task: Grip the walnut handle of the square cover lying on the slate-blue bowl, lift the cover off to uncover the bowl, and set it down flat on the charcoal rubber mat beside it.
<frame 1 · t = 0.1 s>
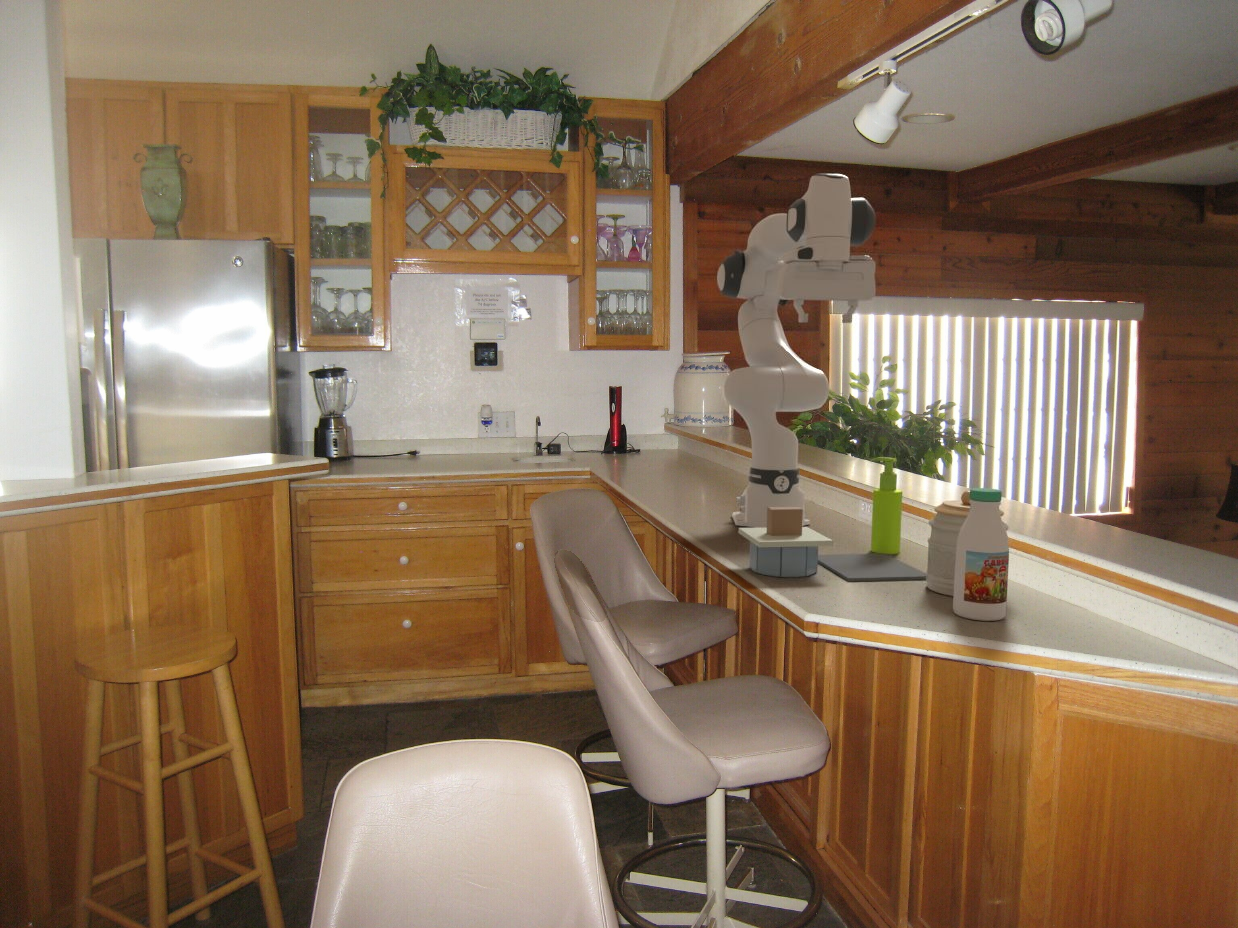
hand: (825, 322, 179), 48 cm above the worktop, fingers open, 8 cm apart
mat: (867, 567, 168), on the worktop
jar: (964, 591, 152), on the worktop
milk bottle: (978, 616, 136), on the worktop
bowl: (783, 569, 166), on the worktop
soap dispenser: (882, 551, 185), on the worktop
cover: (783, 539, 166), point 6 cm above the worktop, touching bowl
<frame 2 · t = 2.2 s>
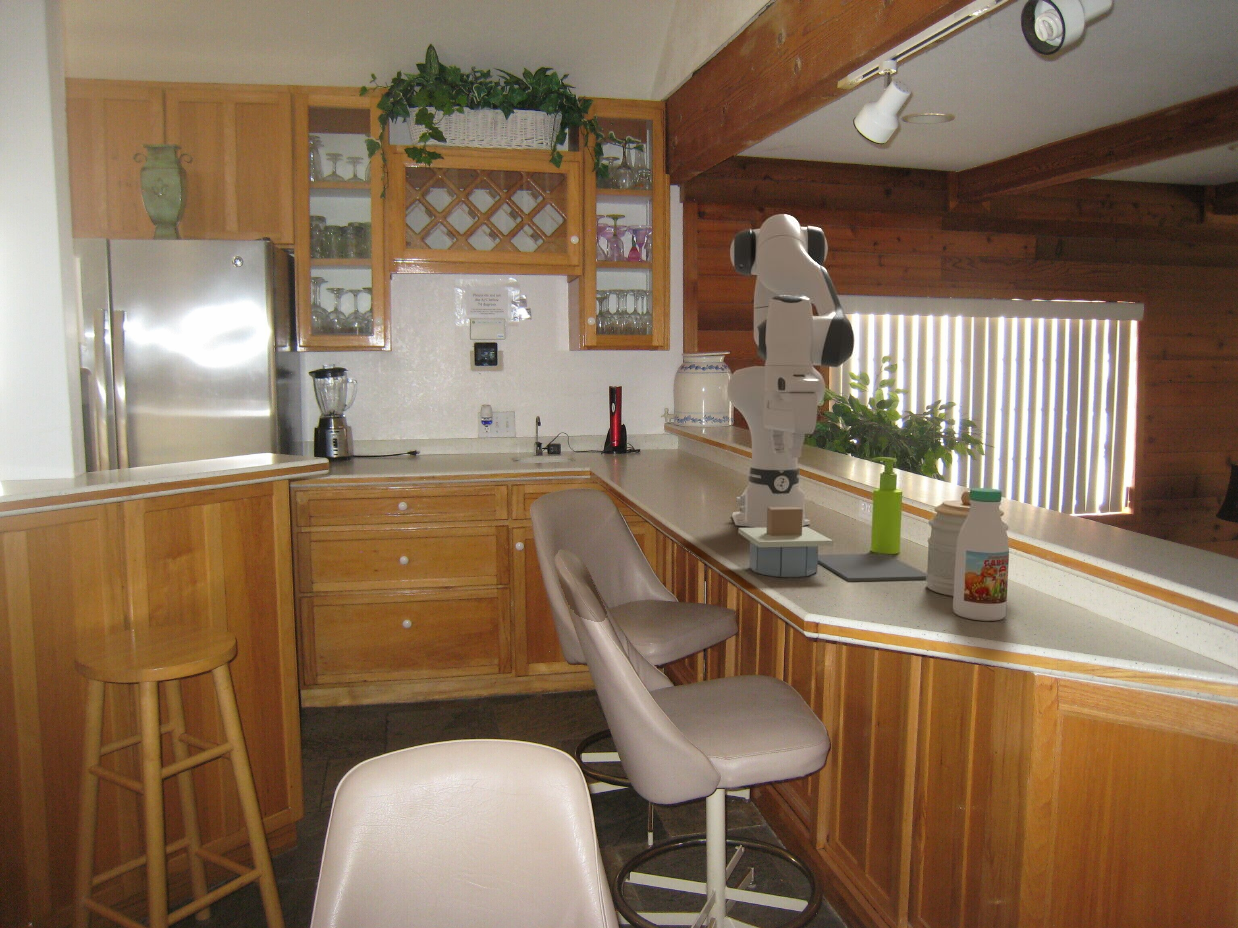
hand: (786, 455, 164), 22 cm above the worktop, fingers open, 8 cm apart
nothing on the worktop moved.
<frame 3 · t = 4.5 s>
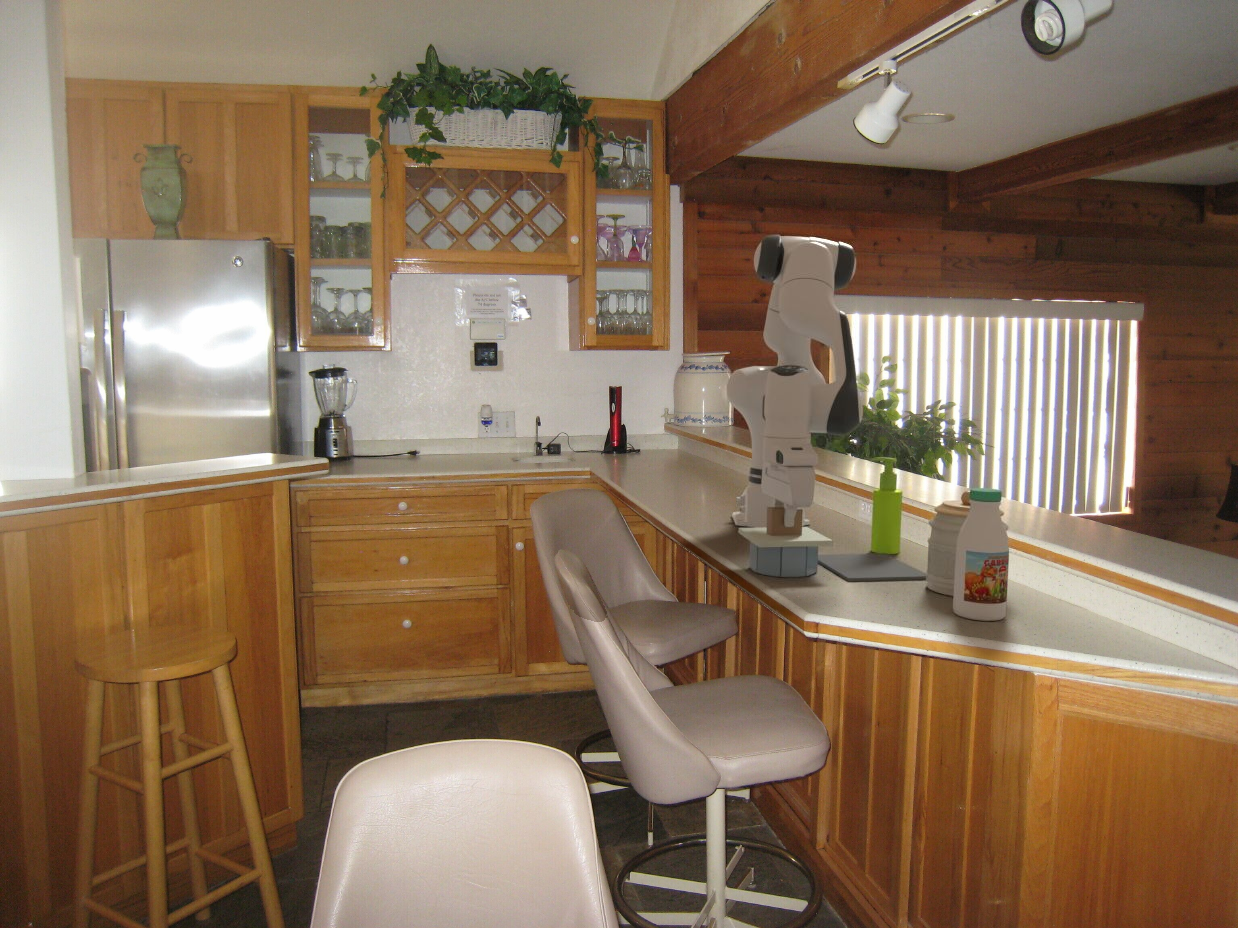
hand: (784, 524, 165), 9 cm above the worktop, fingers closed on cover, 3 cm apart
cover: (783, 539, 166), point 6 cm above the worktop, touching bowl, gripper
everything else where it was.
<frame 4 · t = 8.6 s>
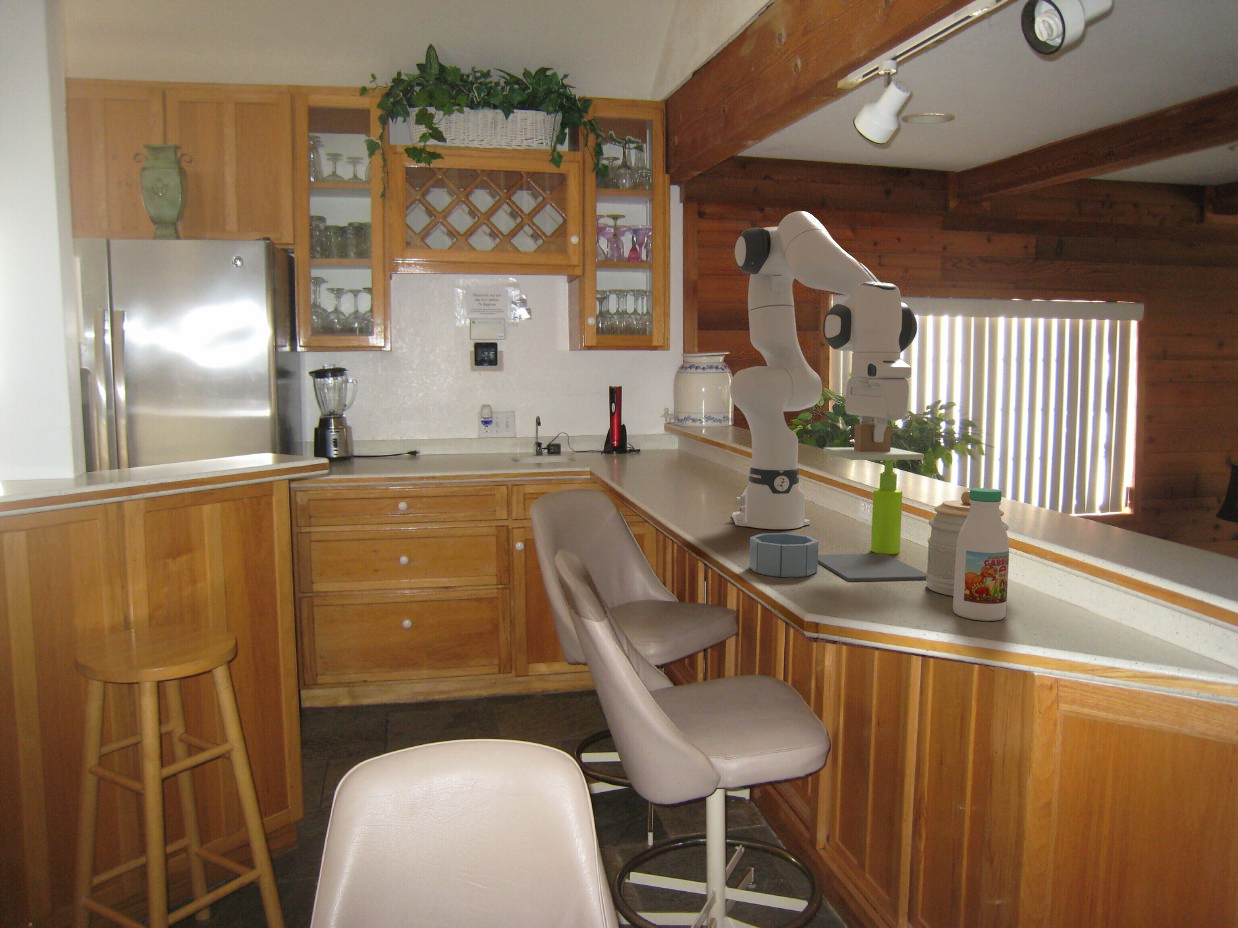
hand: (872, 440, 166), 25 cm above the worktop, fingers closed on cover, 3 cm apart
cover: (871, 455, 166), point 22 cm above the worktop, touching gripper
everything else where it was.
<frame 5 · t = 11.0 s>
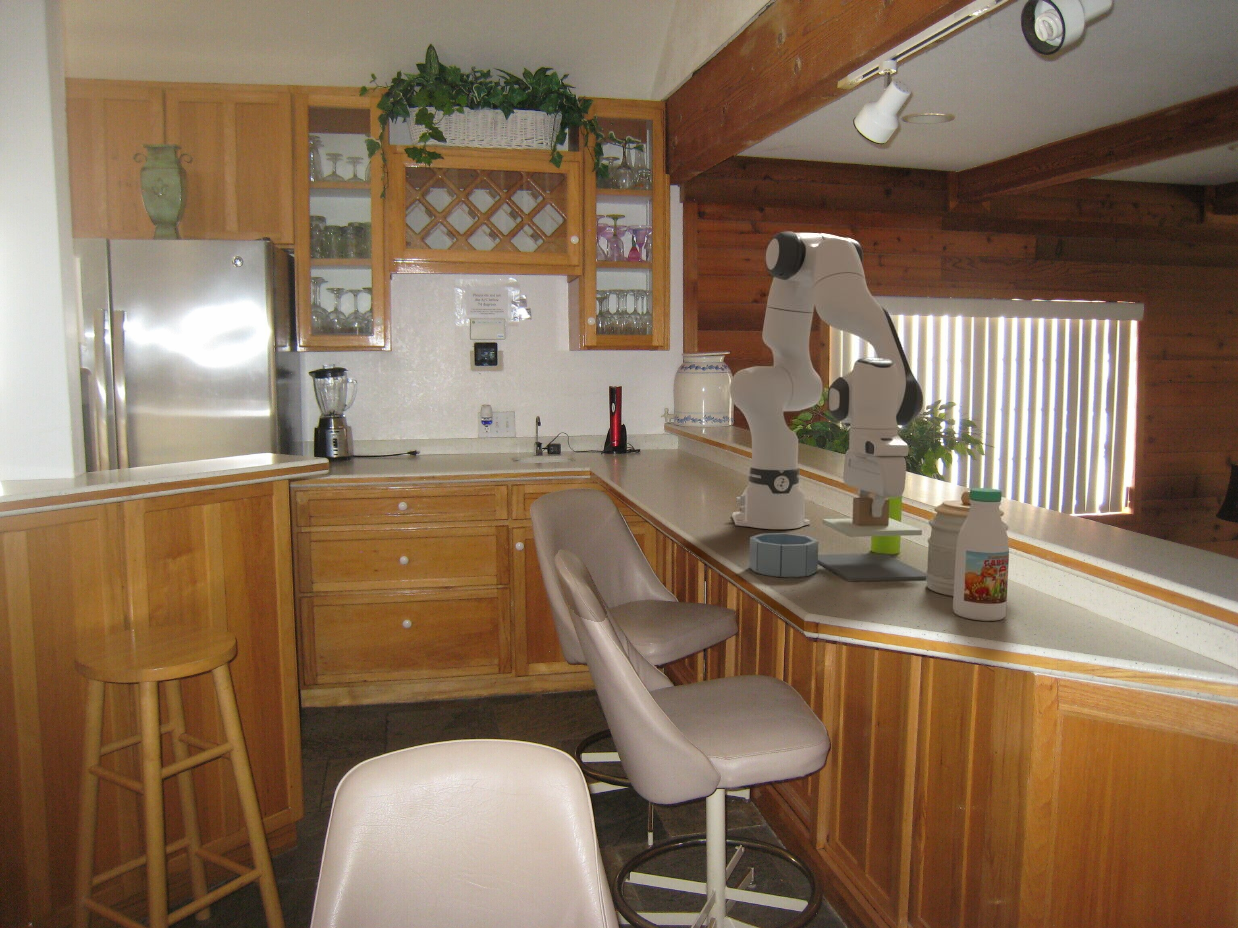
hand: (870, 514, 167), 11 cm above the worktop, fingers closed on cover, 3 cm apart
cover: (870, 529, 167), point 8 cm above the worktop, touching gripper
everything else where it was.
when the fingers open (4 cm above the worktop, at t = 13.0 s): cover stays where it is, resting on mat.
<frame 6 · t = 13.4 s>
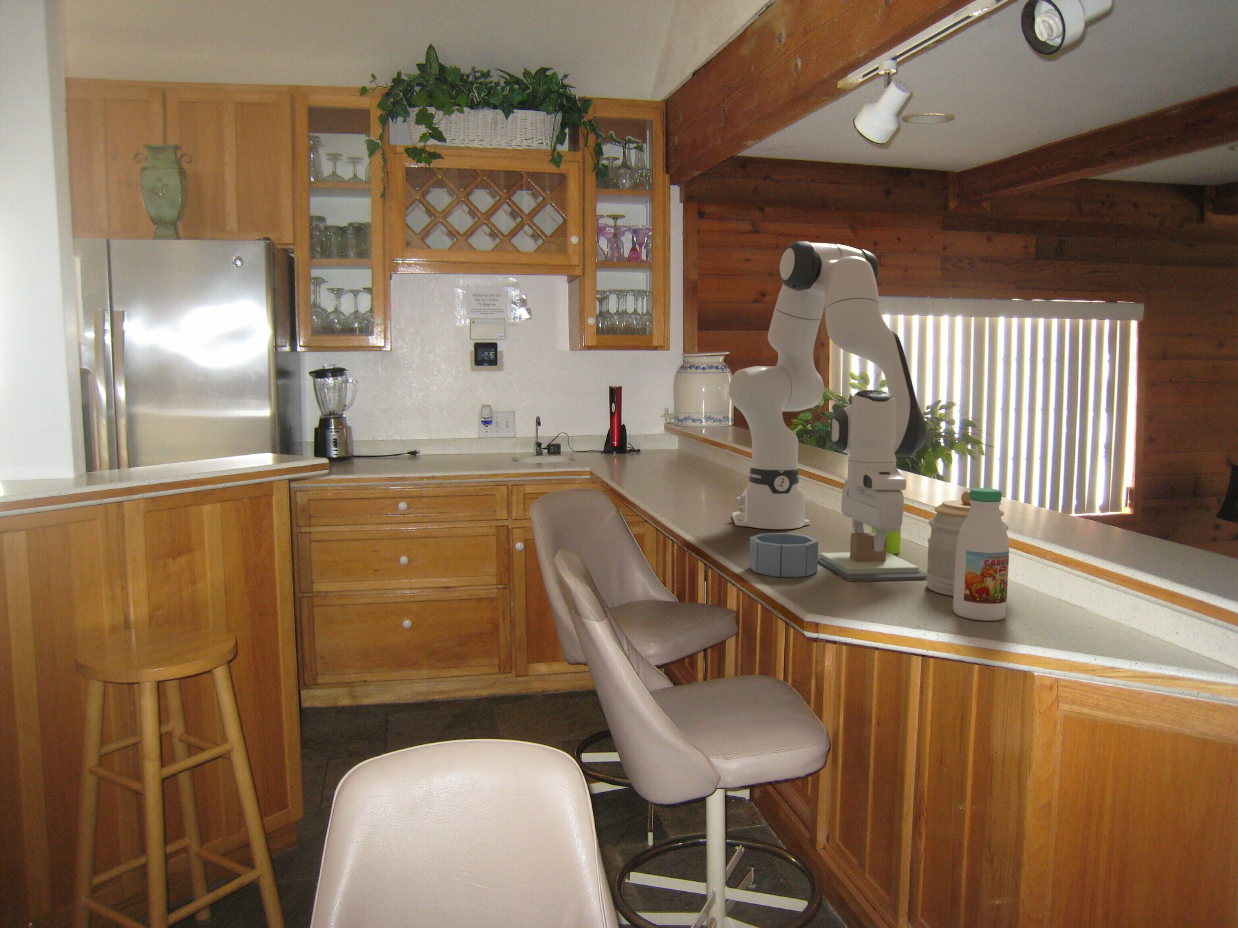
hand: (868, 546, 168), 4 cm above the worktop, fingers open, 7 cm apart
cover: (867, 564, 168), point 1 cm above the worktop, touching mat
everything else where it was.
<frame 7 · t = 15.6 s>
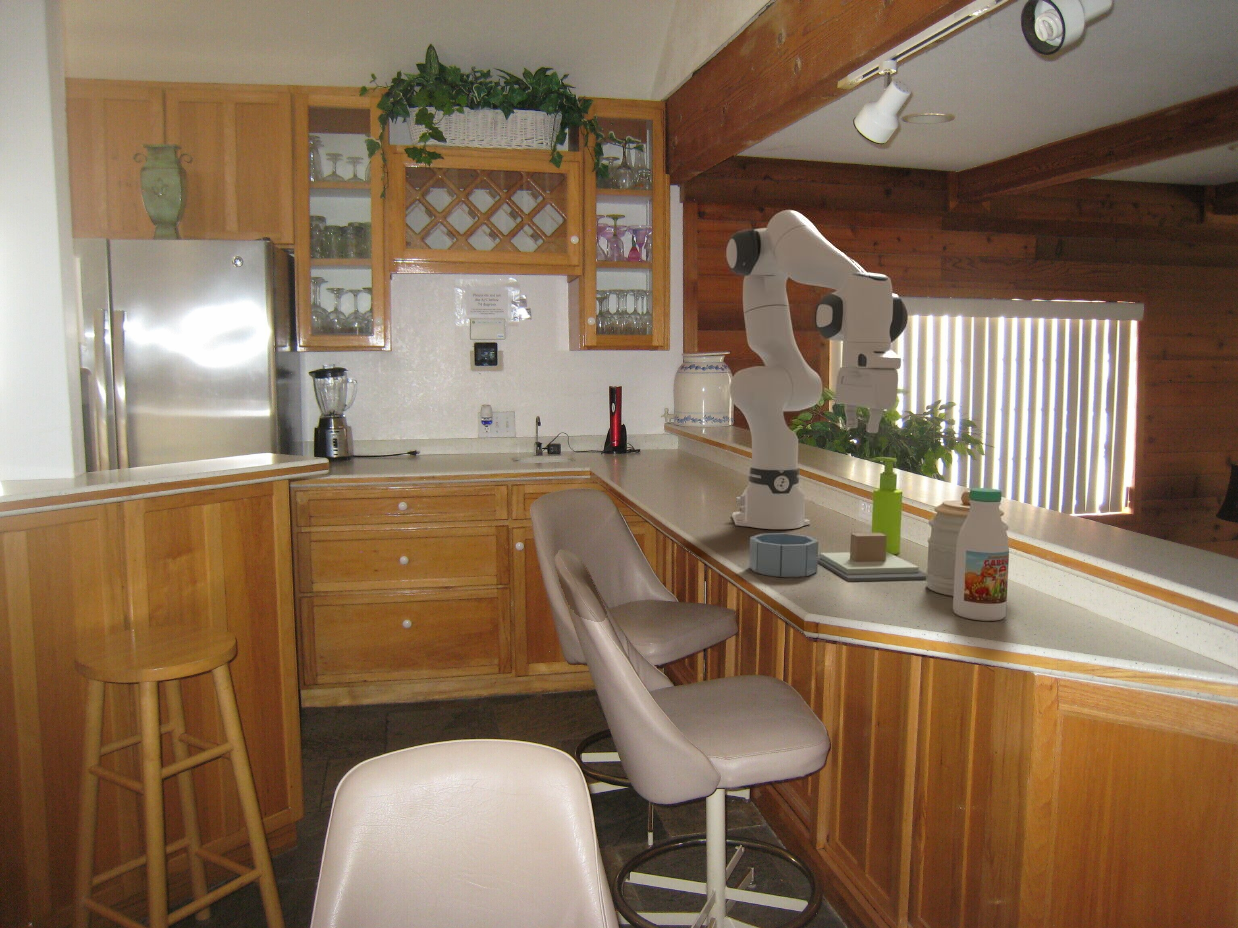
hand: (861, 430, 168), 27 cm above the worktop, fingers open, 8 cm apart
nothing on the worktop moved.
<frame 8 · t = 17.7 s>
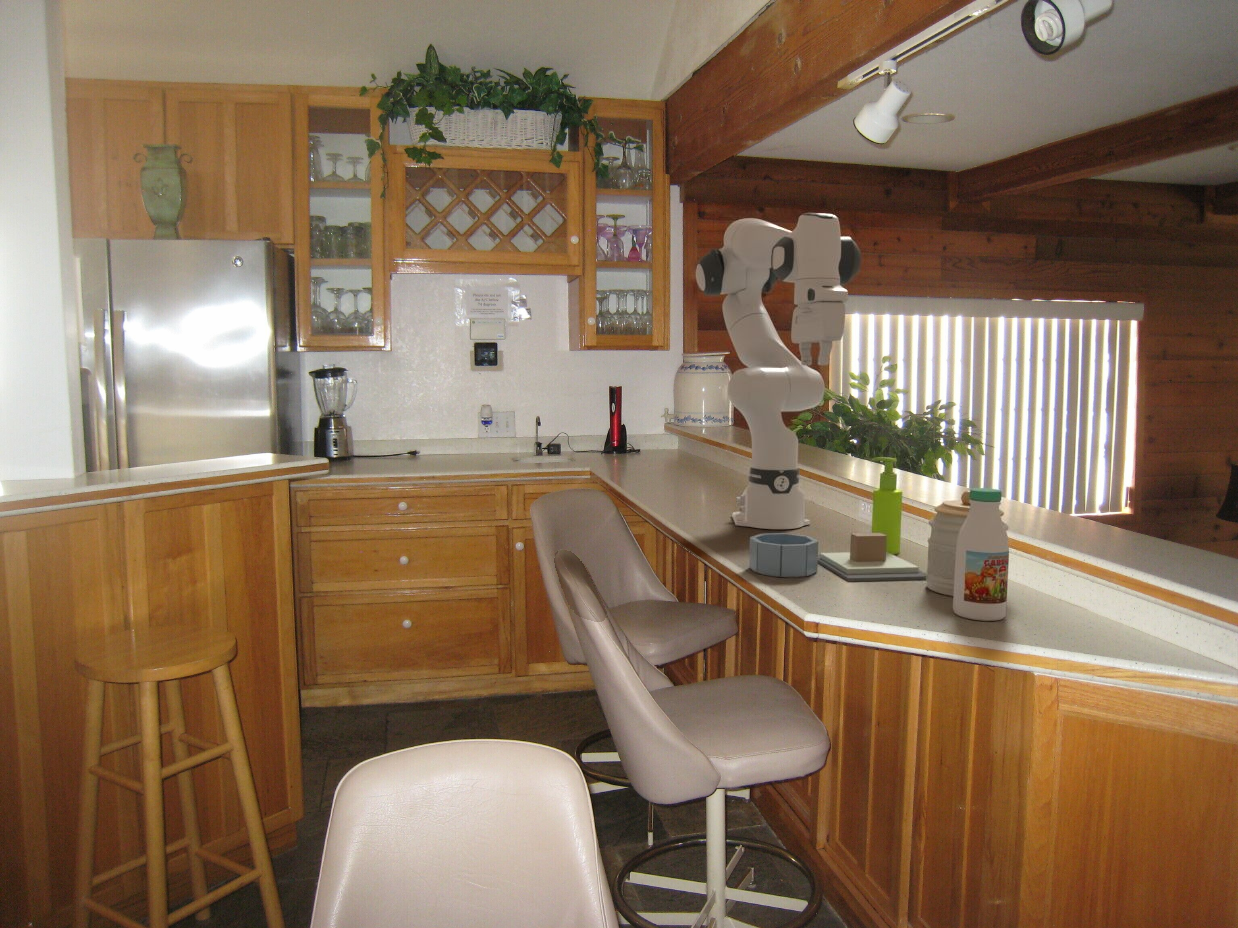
hand: (814, 365, 174), 39 cm above the worktop, fingers open, 8 cm apart
nothing on the worktop moved.
at the end: cover inside the target area on the mat (0.1 cm from its centre), point 0.6 cm above the mat's base; cover touching mat; cover tilted 0° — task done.
